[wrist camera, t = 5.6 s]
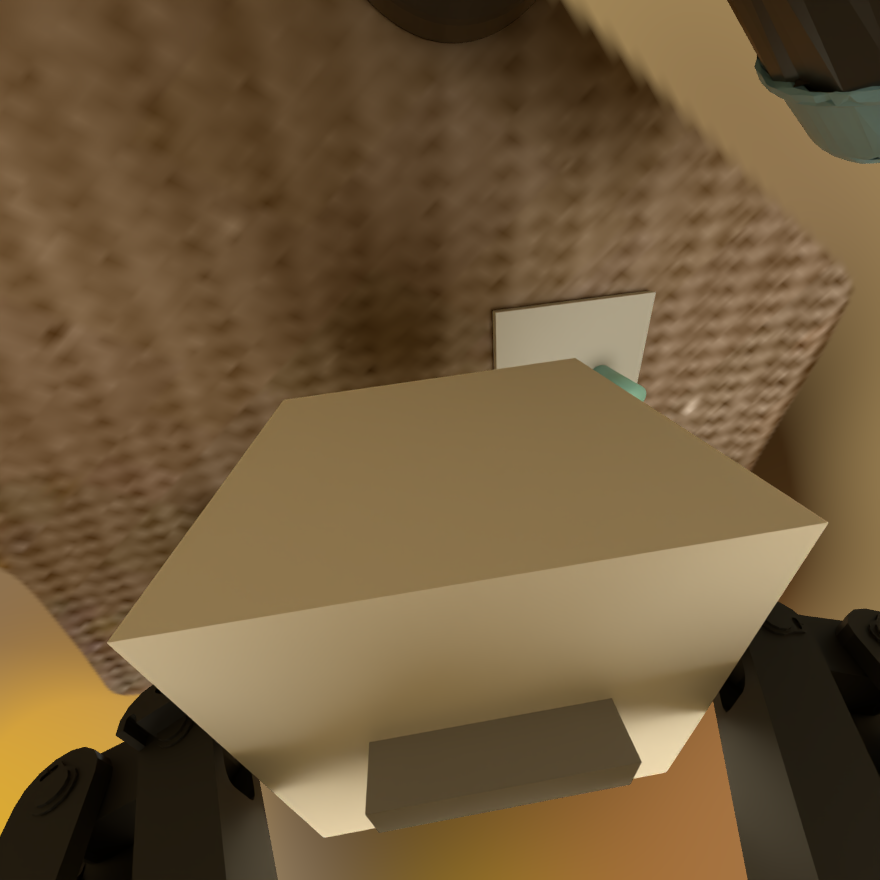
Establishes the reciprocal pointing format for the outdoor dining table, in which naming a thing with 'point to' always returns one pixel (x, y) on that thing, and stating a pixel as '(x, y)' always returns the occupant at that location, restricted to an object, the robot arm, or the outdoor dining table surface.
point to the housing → (464, 595)
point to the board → (579, 335)
